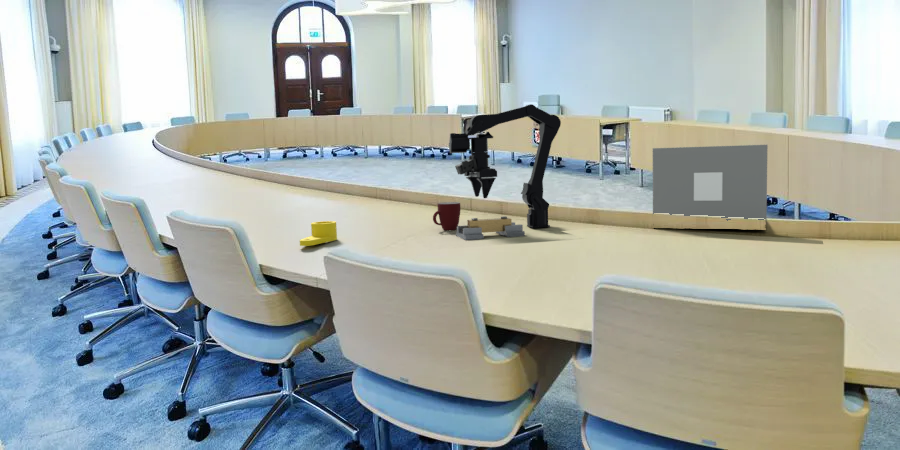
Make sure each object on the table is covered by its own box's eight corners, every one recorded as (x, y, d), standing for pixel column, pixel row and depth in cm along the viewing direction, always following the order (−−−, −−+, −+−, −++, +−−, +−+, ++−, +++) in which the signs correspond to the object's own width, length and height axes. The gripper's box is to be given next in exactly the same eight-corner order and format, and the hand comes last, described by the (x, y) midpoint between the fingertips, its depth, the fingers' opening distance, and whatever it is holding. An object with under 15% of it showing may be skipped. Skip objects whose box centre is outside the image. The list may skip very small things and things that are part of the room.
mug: (442, 234, 239) (441, 205, 237) (428, 232, 245) (427, 204, 244) (465, 230, 245) (464, 202, 244) (451, 229, 251) (450, 201, 250)
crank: (319, 238, 241) (318, 221, 240) (341, 238, 238) (340, 221, 238) (292, 245, 224) (291, 227, 224) (315, 246, 222) (314, 227, 221)
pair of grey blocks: (512, 231, 237) (512, 221, 237) (524, 236, 226) (524, 225, 225) (456, 235, 232) (455, 225, 232) (465, 240, 221) (465, 229, 220)
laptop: (764, 221, 243) (765, 143, 240) (766, 230, 219) (767, 144, 216) (661, 220, 257) (661, 147, 254) (652, 229, 233) (652, 148, 230)
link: (508, 229, 232) (508, 215, 232) (511, 230, 228) (511, 217, 228) (467, 231, 230) (467, 218, 229) (470, 233, 226) (469, 219, 225)
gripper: (449, 153, 245) (451, 197, 246) (464, 153, 227) (466, 200, 229) (479, 151, 248) (481, 195, 249) (497, 151, 230) (498, 198, 231)
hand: (481, 197), depth 240 cm, fingers open, 9 cm apart
